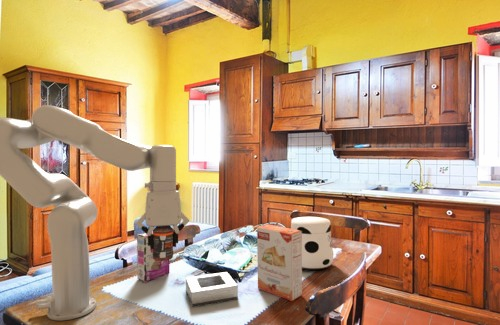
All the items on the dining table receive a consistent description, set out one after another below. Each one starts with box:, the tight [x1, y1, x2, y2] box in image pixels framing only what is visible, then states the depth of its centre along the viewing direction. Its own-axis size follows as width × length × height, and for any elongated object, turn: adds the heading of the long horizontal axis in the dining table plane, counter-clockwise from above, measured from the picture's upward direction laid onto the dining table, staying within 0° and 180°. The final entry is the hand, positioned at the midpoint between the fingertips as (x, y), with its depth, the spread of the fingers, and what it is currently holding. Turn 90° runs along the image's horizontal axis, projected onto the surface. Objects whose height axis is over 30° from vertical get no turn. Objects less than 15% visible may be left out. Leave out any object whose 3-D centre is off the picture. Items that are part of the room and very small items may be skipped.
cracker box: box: [256, 224, 303, 302], centre depth 105 cm, size 14×6×21 cm, turn 47°
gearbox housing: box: [185, 271, 239, 308], centre depth 104 cm, size 14×12×4 cm
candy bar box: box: [136, 231, 170, 283], centre depth 120 cm, size 11×5×16 cm, turn 144°
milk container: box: [290, 216, 334, 271], centre depth 130 cm, size 17×17×18 cm
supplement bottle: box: [153, 226, 174, 261], centre depth 98 cm, size 6×6×11 cm
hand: (163, 246), depth 98 cm, fingers closed on supplement bottle, 5 cm apart
